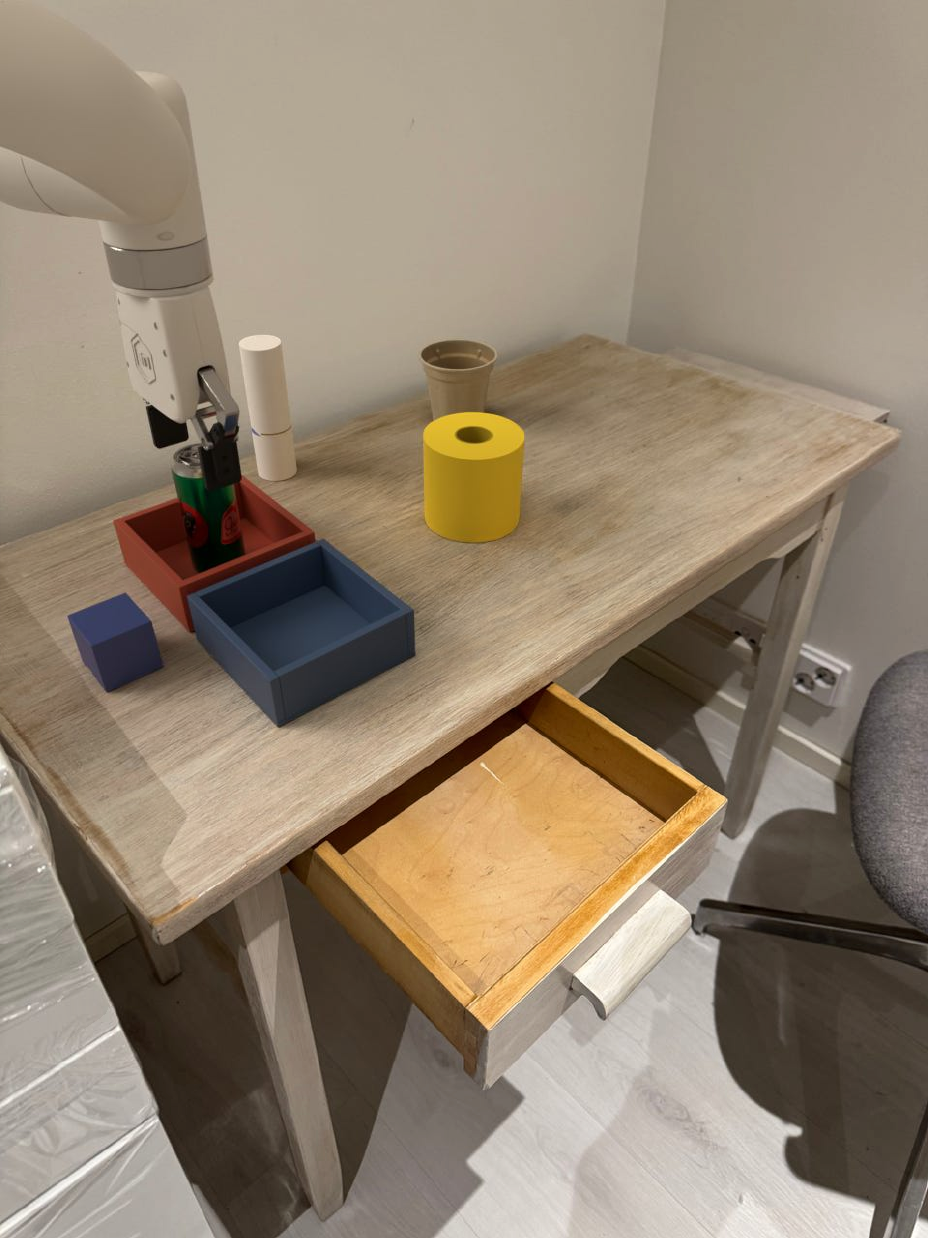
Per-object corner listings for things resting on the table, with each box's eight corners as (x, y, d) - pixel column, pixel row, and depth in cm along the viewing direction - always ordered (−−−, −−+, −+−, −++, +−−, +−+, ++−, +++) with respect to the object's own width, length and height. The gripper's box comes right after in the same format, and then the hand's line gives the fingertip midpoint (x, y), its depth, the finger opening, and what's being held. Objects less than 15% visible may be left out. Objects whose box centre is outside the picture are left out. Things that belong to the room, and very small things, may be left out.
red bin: (189, 633, 79) (178, 587, 76) (124, 563, 87) (112, 520, 84) (319, 575, 86) (314, 531, 82) (248, 516, 94) (241, 474, 90)
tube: (303, 465, 102) (288, 337, 93) (285, 483, 99) (268, 353, 89) (270, 459, 103) (251, 332, 94) (251, 477, 100) (230, 347, 90)
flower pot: (405, 425, 110) (402, 357, 105) (446, 397, 116) (446, 332, 111) (470, 445, 106) (471, 376, 101) (508, 415, 112) (512, 348, 107)
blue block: (106, 692, 73) (91, 646, 70) (82, 661, 76) (66, 615, 72) (163, 666, 75) (151, 620, 72) (138, 637, 78) (125, 591, 75)
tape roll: (538, 525, 93) (544, 443, 87) (455, 552, 89) (455, 469, 83) (487, 482, 99) (489, 404, 93) (407, 506, 95) (405, 426, 89)
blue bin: (278, 728, 70) (270, 681, 67) (196, 641, 78) (186, 595, 75) (415, 655, 77) (414, 609, 74) (327, 582, 85) (323, 538, 82)
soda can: (241, 581, 84) (220, 468, 76) (187, 580, 84) (161, 467, 76) (251, 550, 88) (233, 440, 80) (200, 550, 88) (177, 440, 80)
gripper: (68, 244, 71) (115, 440, 82) (164, 302, 61) (204, 518, 71) (156, 229, 75) (191, 418, 85) (261, 281, 65) (285, 489, 75)
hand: (197, 463), depth 78 cm, fingers open, 9 cm apart
